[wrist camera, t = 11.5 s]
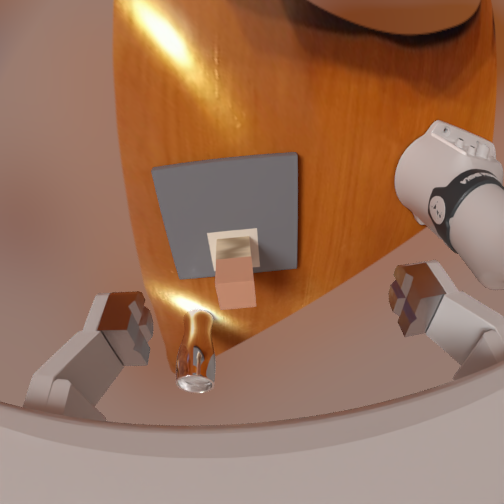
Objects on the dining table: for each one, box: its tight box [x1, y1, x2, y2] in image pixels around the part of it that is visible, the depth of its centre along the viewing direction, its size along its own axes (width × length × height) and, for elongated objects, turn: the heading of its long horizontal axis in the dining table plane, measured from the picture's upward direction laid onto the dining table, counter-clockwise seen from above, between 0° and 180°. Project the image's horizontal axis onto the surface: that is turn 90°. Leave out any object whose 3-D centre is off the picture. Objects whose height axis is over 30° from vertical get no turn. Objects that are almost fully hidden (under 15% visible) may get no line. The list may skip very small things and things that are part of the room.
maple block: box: [216, 236, 251, 260], centre depth 48 cm, size 5×5×5 cm
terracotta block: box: [215, 256, 256, 310], centre depth 44 cm, size 5×5×5 cm
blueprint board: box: [151, 152, 298, 279], centre depth 47 cm, size 20×20×1 cm
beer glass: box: [176, 309, 216, 393], centre depth 55 cm, size 7×7×15 cm
